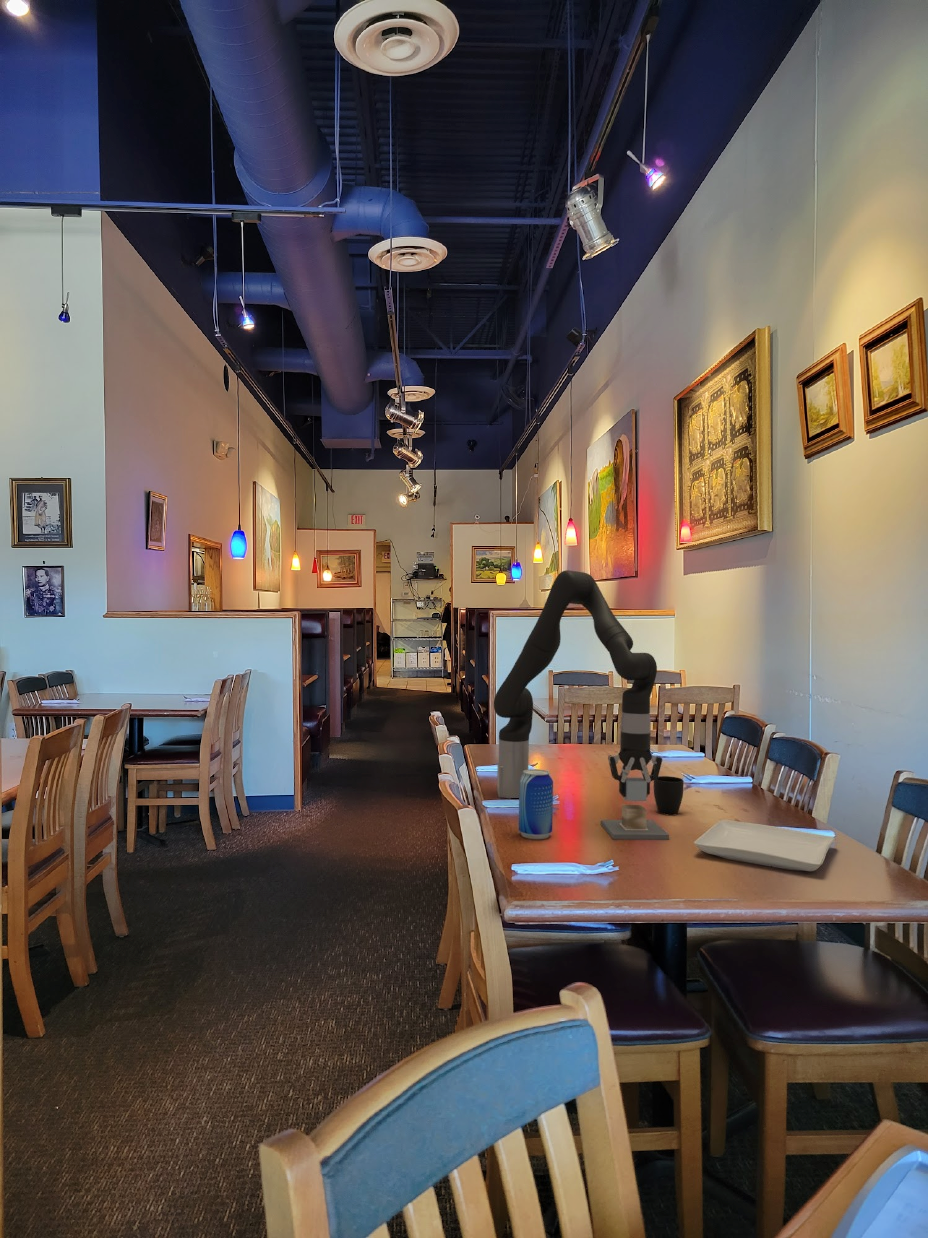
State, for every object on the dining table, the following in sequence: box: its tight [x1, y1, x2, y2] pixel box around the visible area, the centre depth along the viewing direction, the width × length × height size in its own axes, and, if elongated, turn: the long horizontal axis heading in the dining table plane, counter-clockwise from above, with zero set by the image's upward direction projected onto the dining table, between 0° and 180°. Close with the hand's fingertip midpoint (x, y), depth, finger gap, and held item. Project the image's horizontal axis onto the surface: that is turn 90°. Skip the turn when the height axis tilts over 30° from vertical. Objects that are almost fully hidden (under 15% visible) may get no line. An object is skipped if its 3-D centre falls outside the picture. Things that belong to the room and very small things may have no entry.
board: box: [600, 819, 670, 841], centre depth 198 cm, size 14×14×1 cm
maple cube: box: [621, 804, 647, 829], centre depth 198 cm, size 5×5×5 cm
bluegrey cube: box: [621, 776, 648, 802], centre depth 198 cm, size 5×5×5 cm
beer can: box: [518, 768, 554, 840], centre depth 193 cm, size 8×8×16 cm
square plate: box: [693, 819, 836, 872], centre depth 182 cm, size 27×27×4 cm
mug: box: [653, 775, 685, 816], centre depth 220 cm, size 8×12×10 cm
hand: (634, 796), depth 198 cm, fingers closed on bluegrey cube, 5 cm apart
